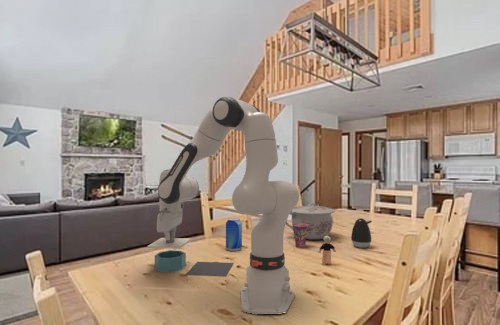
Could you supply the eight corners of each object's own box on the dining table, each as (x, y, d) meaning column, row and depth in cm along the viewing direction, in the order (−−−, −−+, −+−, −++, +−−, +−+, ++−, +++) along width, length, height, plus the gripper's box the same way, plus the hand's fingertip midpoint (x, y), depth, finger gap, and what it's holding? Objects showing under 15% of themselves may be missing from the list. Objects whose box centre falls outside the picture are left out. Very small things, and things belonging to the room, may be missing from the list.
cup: (301, 249, 164) (301, 226, 164) (289, 246, 170) (289, 224, 170) (312, 246, 170) (312, 224, 170) (300, 243, 176) (300, 222, 176)
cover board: (179, 248, 129) (179, 235, 129) (147, 247, 131) (147, 235, 131) (190, 240, 143) (190, 228, 143) (161, 239, 145) (161, 228, 145)
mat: (226, 277, 125) (226, 276, 125) (184, 276, 127) (184, 274, 127) (234, 264, 142) (234, 262, 142) (197, 262, 144) (197, 261, 144)
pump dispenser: (372, 250, 162) (372, 220, 162) (351, 248, 165) (350, 219, 165) (371, 245, 172) (371, 217, 172) (351, 243, 175) (351, 216, 175)
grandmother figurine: (321, 266, 138) (321, 237, 138) (317, 263, 142) (317, 235, 142) (337, 264, 140) (337, 236, 140) (333, 262, 144) (332, 234, 144)
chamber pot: (341, 235, 196) (340, 201, 196) (327, 245, 172) (327, 207, 172) (298, 230, 210) (298, 199, 210) (281, 239, 186) (280, 204, 186)
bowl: (178, 273, 130) (178, 259, 130) (150, 272, 132) (150, 258, 132) (188, 264, 142) (188, 250, 142) (162, 263, 144) (162, 250, 144)
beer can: (222, 250, 164) (222, 219, 164) (231, 246, 171) (231, 217, 171) (236, 252, 160) (236, 220, 160) (244, 248, 168) (244, 218, 168)
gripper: (167, 210, 126) (167, 244, 126) (184, 203, 147) (185, 233, 147) (152, 210, 127) (152, 244, 127) (171, 203, 147) (172, 233, 147)
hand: (170, 238), depth 137 cm, fingers closed on cover board, 4 cm apart
